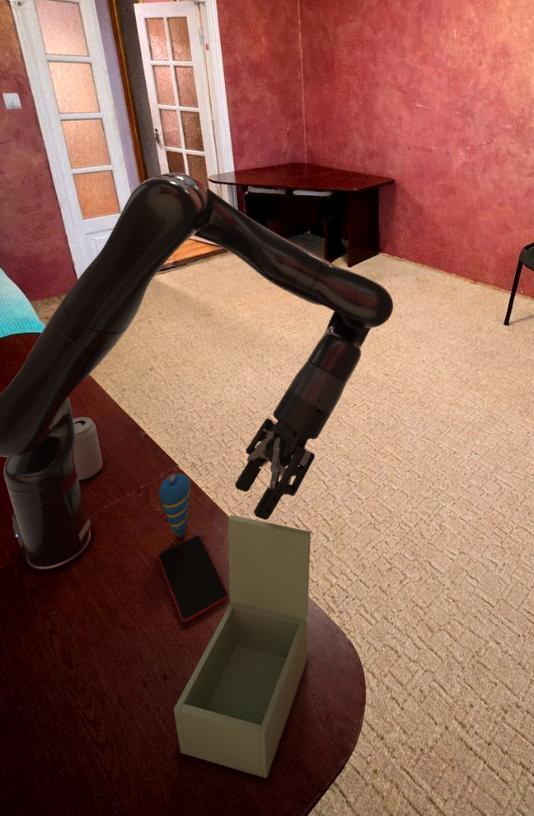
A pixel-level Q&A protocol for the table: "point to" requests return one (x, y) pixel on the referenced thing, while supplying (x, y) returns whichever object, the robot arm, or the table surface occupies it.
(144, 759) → the table surface
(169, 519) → the ornament
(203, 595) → the smartphone
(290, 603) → the lid
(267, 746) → the chest
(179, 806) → the table surface
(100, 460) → the beverage can
